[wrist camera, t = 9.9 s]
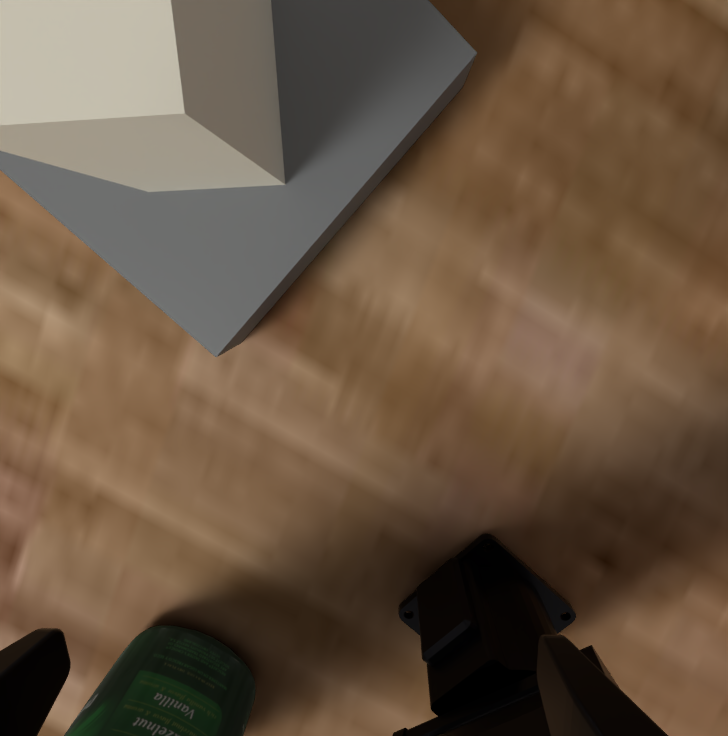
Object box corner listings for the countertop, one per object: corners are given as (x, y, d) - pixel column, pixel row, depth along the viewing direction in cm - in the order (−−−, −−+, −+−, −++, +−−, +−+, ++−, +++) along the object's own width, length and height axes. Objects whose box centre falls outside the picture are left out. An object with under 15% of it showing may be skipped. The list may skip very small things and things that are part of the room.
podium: (462, 87, 17) (476, 53, 15) (240, 343, 20) (216, 357, 17) (226, -163, 16) (189, -257, 13) (24, 152, 19) (-43, 132, 16)
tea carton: (285, 184, 16) (184, 113, 8) (149, 191, 16) (-74, 130, 8) (269, -14, 14) (130, -332, 7) (120, -1, 15) (-179, -292, 7)
